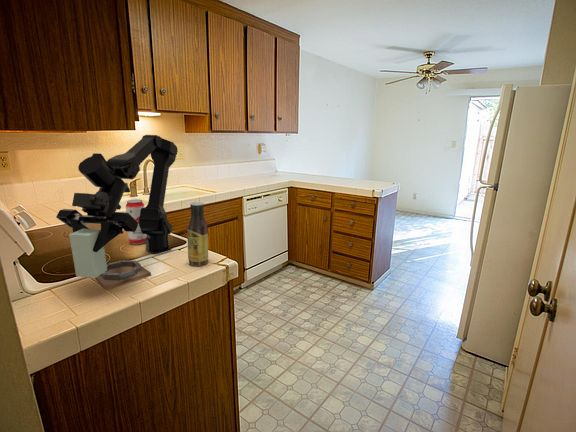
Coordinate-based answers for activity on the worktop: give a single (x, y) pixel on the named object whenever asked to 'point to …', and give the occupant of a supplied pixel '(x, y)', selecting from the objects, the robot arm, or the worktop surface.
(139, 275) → the seat board
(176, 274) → the worktop surface
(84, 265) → the sage block
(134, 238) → the beer can
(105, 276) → the seat ring
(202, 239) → the sauce bottle
